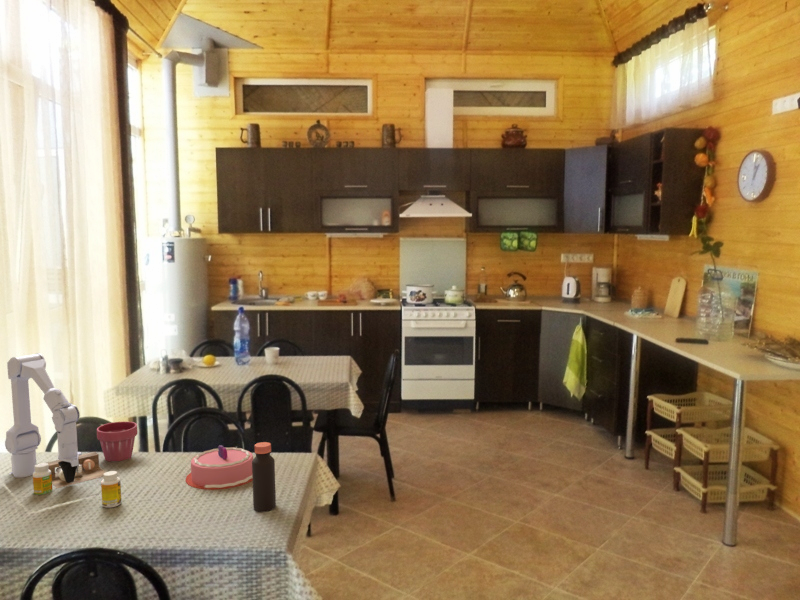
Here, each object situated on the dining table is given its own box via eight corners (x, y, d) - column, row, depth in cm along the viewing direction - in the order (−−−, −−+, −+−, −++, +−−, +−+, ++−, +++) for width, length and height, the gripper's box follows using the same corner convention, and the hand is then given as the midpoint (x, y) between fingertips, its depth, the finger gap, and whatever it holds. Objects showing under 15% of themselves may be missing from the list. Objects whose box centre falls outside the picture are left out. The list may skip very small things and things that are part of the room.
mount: (43, 477, 222) (42, 462, 221) (94, 465, 234) (93, 451, 233) (57, 490, 210) (55, 474, 210) (110, 477, 222) (109, 461, 221)
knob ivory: (53, 475, 220) (52, 465, 220) (64, 473, 223) (64, 463, 223) (60, 482, 214) (60, 472, 214) (72, 479, 217) (71, 469, 216)
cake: (270, 479, 219) (269, 449, 218) (198, 496, 205) (196, 464, 204) (244, 459, 240) (243, 432, 239) (176, 473, 225) (175, 444, 225)
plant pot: (138, 462, 237) (137, 429, 235) (97, 468, 231) (95, 433, 230) (138, 451, 250) (137, 419, 249) (99, 456, 244) (97, 423, 243)
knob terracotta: (76, 465, 230) (76, 456, 230) (87, 463, 233) (86, 453, 232) (84, 471, 224) (83, 462, 224) (95, 469, 226) (94, 459, 226)
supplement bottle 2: (122, 506, 197) (120, 474, 196) (102, 509, 195) (100, 477, 194) (121, 499, 202) (119, 468, 201) (102, 503, 200) (100, 471, 199)
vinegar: (256, 514, 190) (254, 449, 189) (251, 505, 196) (248, 443, 195) (278, 509, 194) (276, 445, 192) (272, 501, 200) (270, 439, 198)
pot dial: (73, 476, 220) (72, 465, 220) (81, 474, 222) (80, 463, 222) (75, 478, 219) (74, 466, 218) (83, 476, 220) (83, 465, 220)
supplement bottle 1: (44, 497, 205) (42, 468, 204) (29, 496, 206) (27, 467, 205) (56, 491, 210) (54, 462, 209) (42, 489, 211) (40, 461, 210)
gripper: (87, 444, 209) (89, 484, 210) (73, 435, 219) (75, 473, 221) (64, 449, 204) (66, 490, 205) (51, 439, 215) (53, 478, 216)
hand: (70, 481), depth 213 cm, fingers closed
